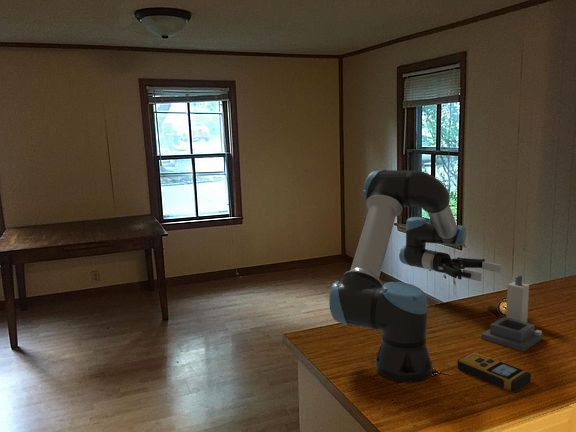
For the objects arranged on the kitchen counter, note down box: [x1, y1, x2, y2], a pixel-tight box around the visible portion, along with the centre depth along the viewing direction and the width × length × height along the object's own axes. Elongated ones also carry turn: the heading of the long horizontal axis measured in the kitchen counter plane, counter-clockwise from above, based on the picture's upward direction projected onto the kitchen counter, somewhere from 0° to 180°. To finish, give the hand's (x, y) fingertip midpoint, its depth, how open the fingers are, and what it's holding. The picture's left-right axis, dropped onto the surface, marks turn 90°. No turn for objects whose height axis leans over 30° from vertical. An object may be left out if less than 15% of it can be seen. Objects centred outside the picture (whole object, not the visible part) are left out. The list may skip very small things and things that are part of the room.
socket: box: [480, 316, 544, 352], centre depth 150 cm, size 13×13×4 cm
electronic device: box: [456, 351, 532, 394], centre depth 128 cm, size 9×16×4 cm, turn 37°
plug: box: [505, 274, 530, 323], centre depth 161 cm, size 4×5×16 cm
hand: (490, 272), depth 168 cm, fingers open, 13 cm apart
